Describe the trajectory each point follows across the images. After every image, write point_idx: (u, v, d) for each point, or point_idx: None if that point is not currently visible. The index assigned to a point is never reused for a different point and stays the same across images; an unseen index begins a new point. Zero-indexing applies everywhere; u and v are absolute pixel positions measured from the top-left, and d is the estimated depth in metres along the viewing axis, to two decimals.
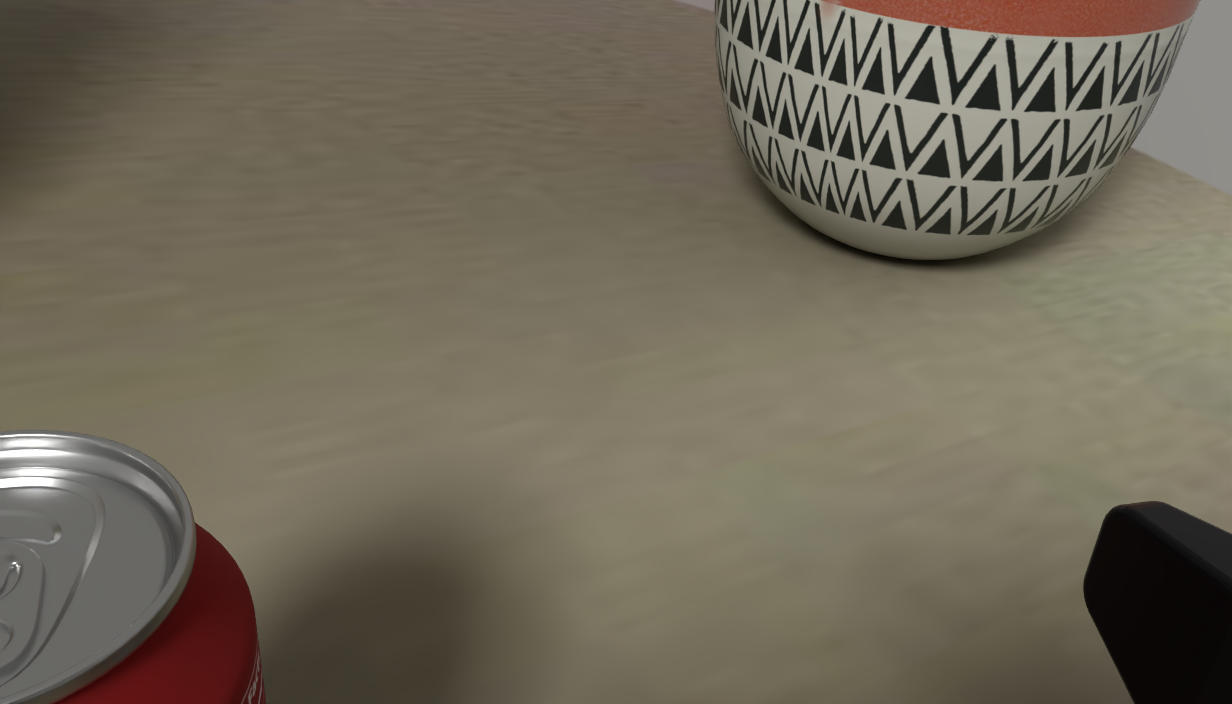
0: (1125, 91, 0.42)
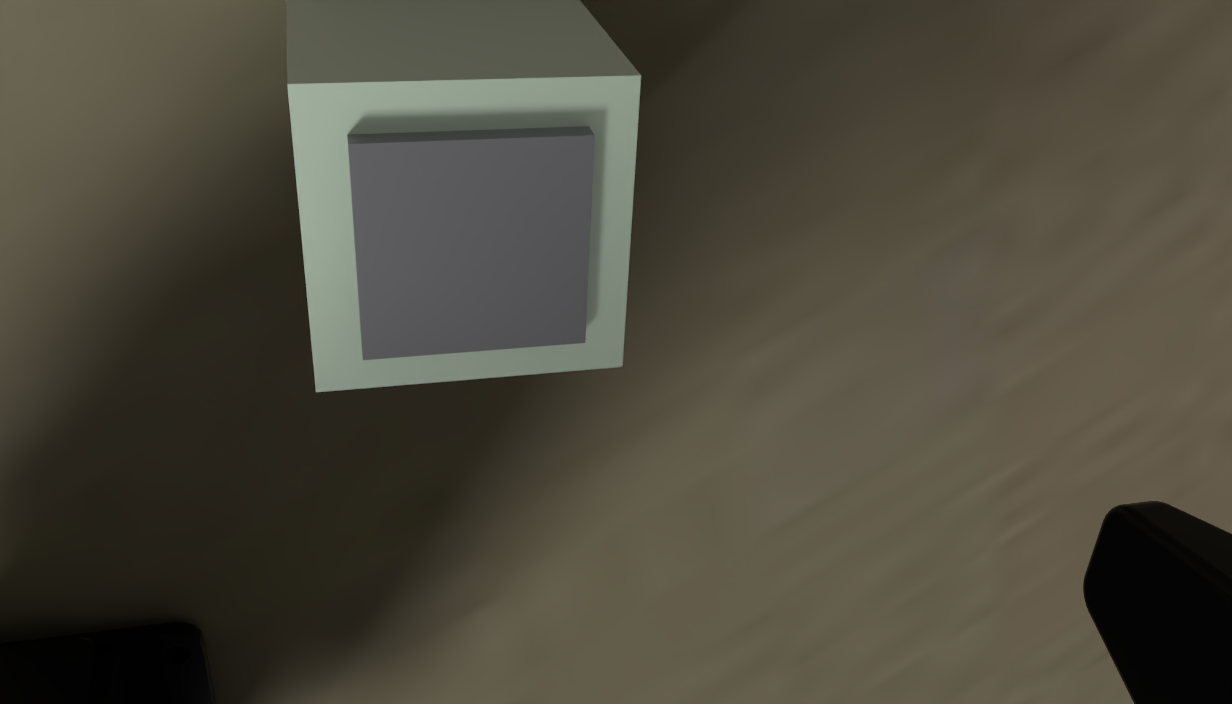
0: None
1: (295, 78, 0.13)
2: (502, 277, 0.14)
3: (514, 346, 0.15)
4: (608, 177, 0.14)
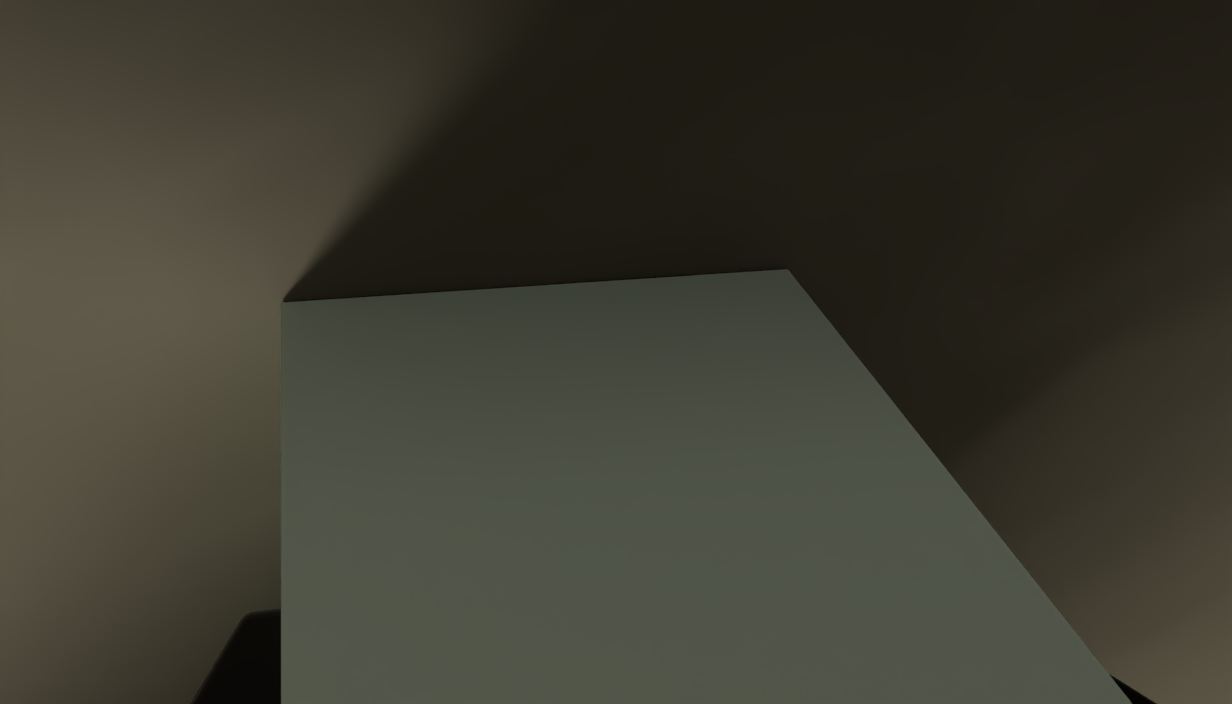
0: None
1: None
2: None
3: None
4: None
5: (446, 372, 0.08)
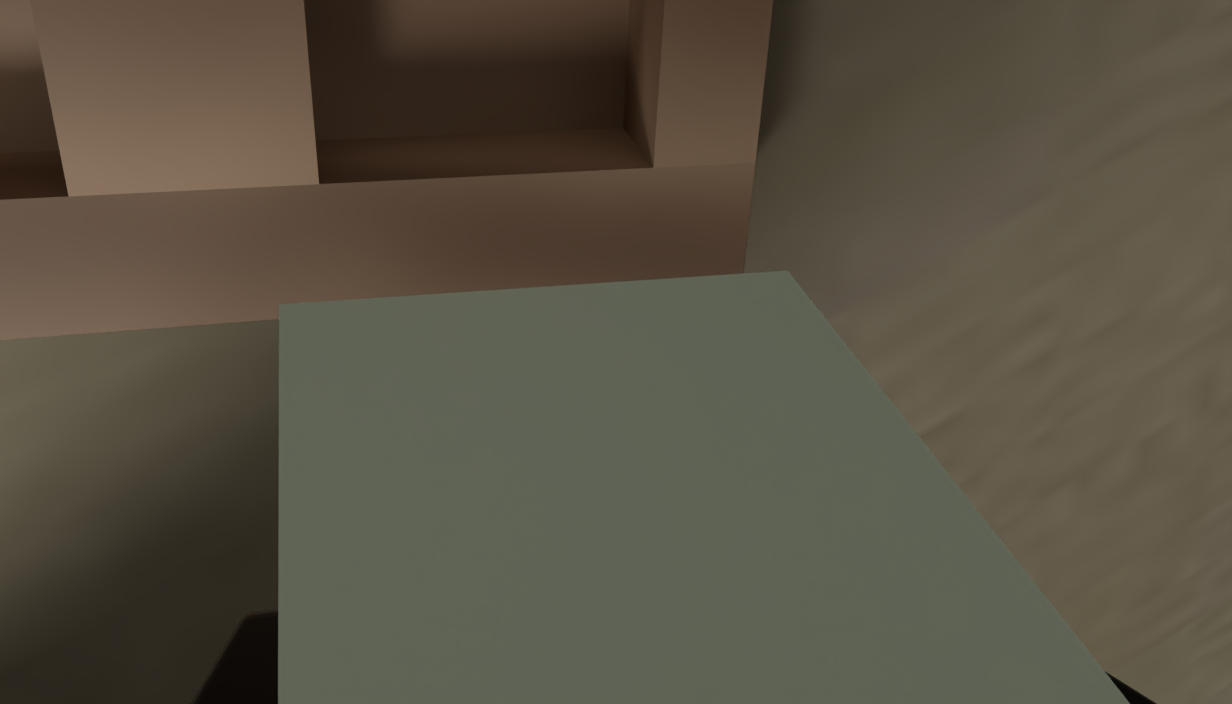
0: None
1: None
2: None
3: None
4: None
5: (445, 374, 0.08)
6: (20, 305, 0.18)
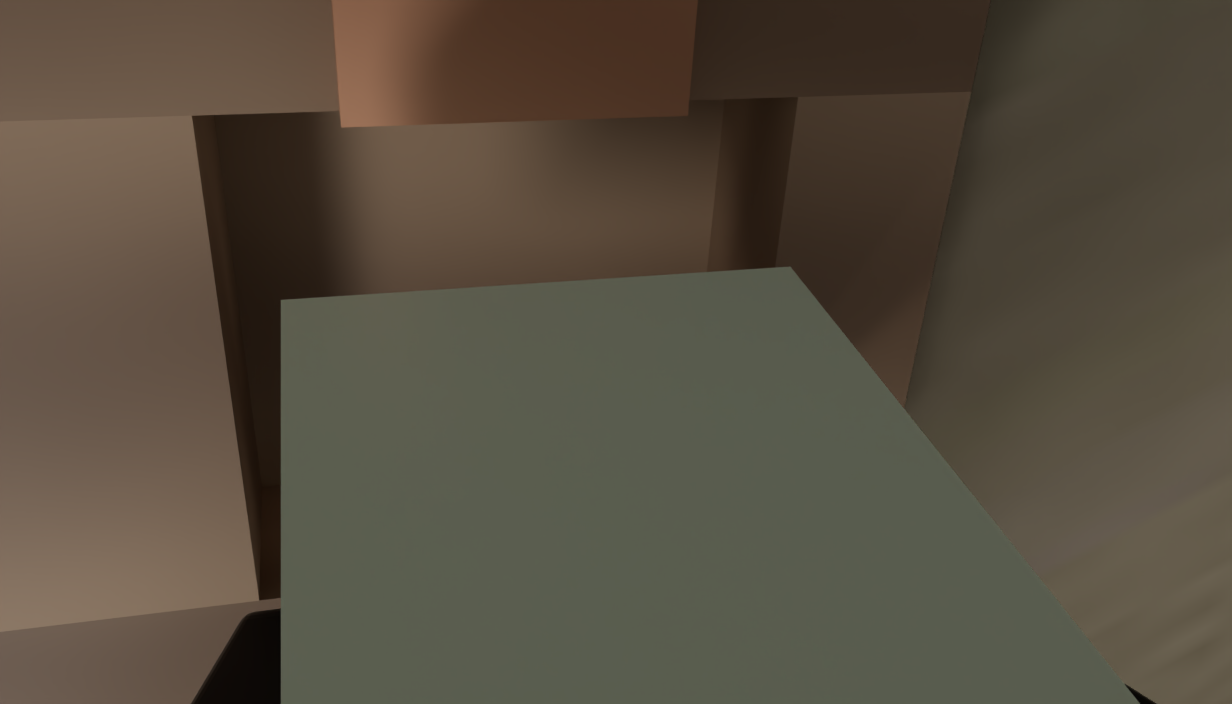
0: None
1: None
2: None
3: None
4: None
5: (447, 370, 0.08)
6: None
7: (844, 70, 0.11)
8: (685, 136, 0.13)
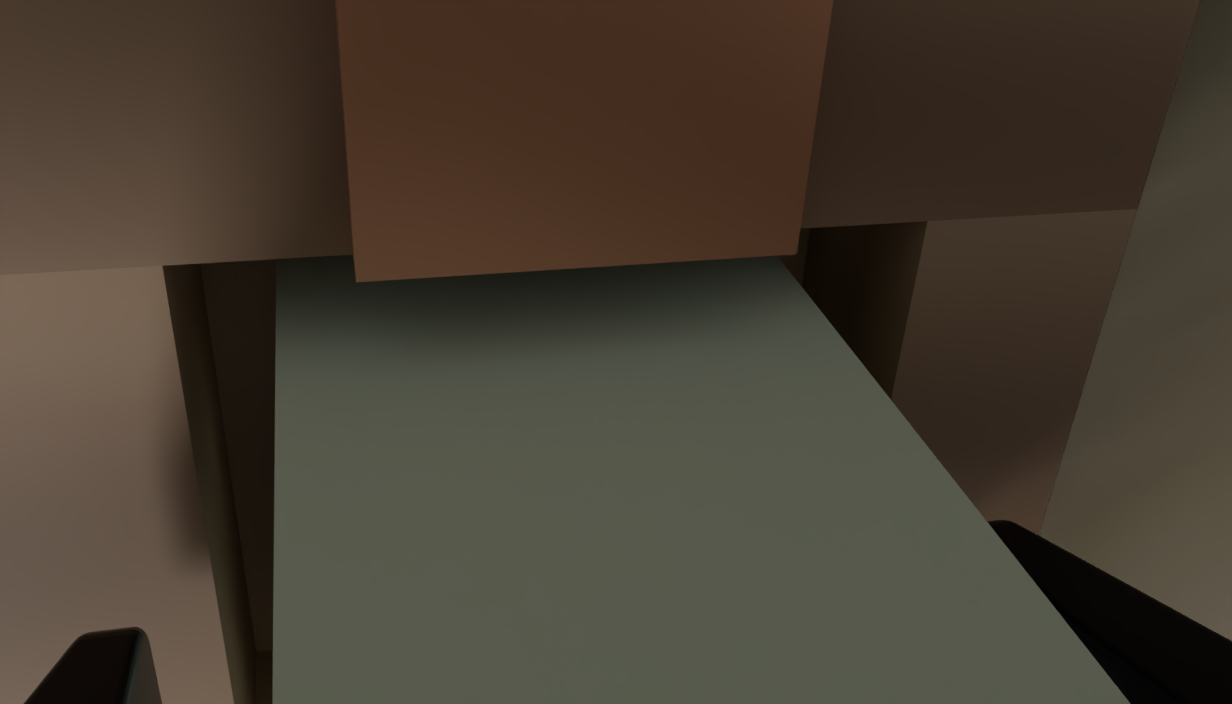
0: None
1: None
2: None
3: None
4: None
5: (422, 285, 0.09)
6: None
7: (986, 188, 0.09)
8: None
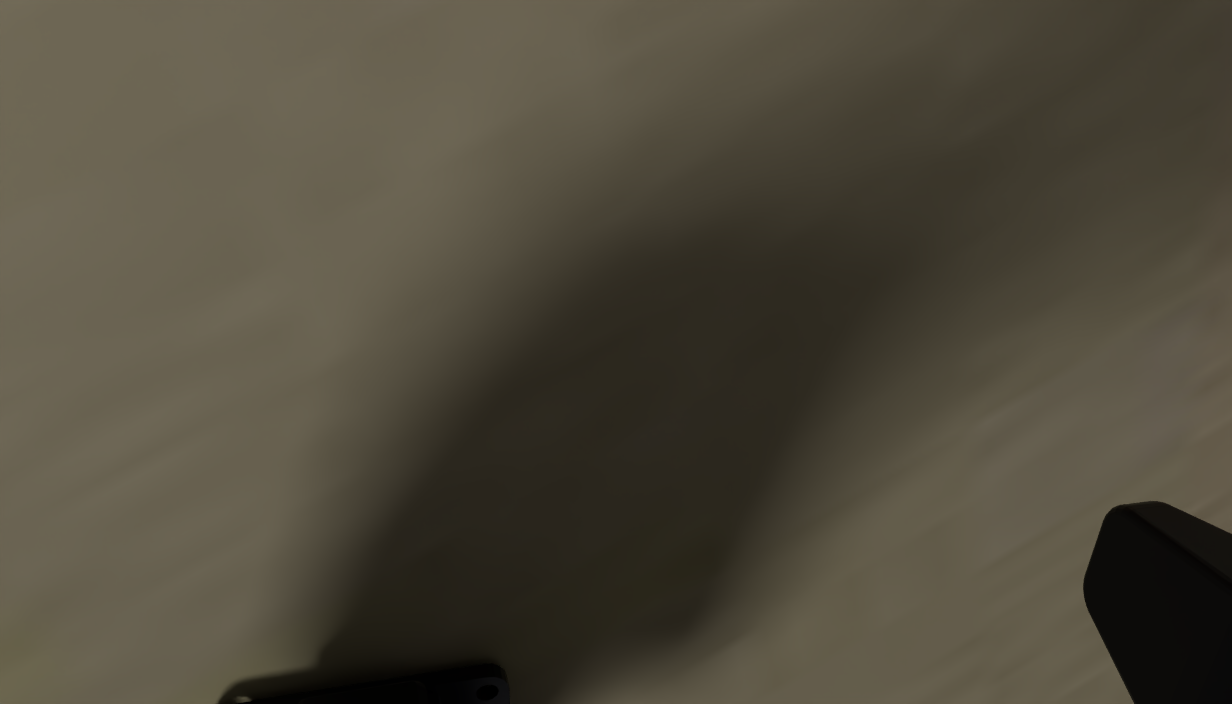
0: None
1: None
2: None
3: None
4: None
5: None
6: None
7: None
8: None
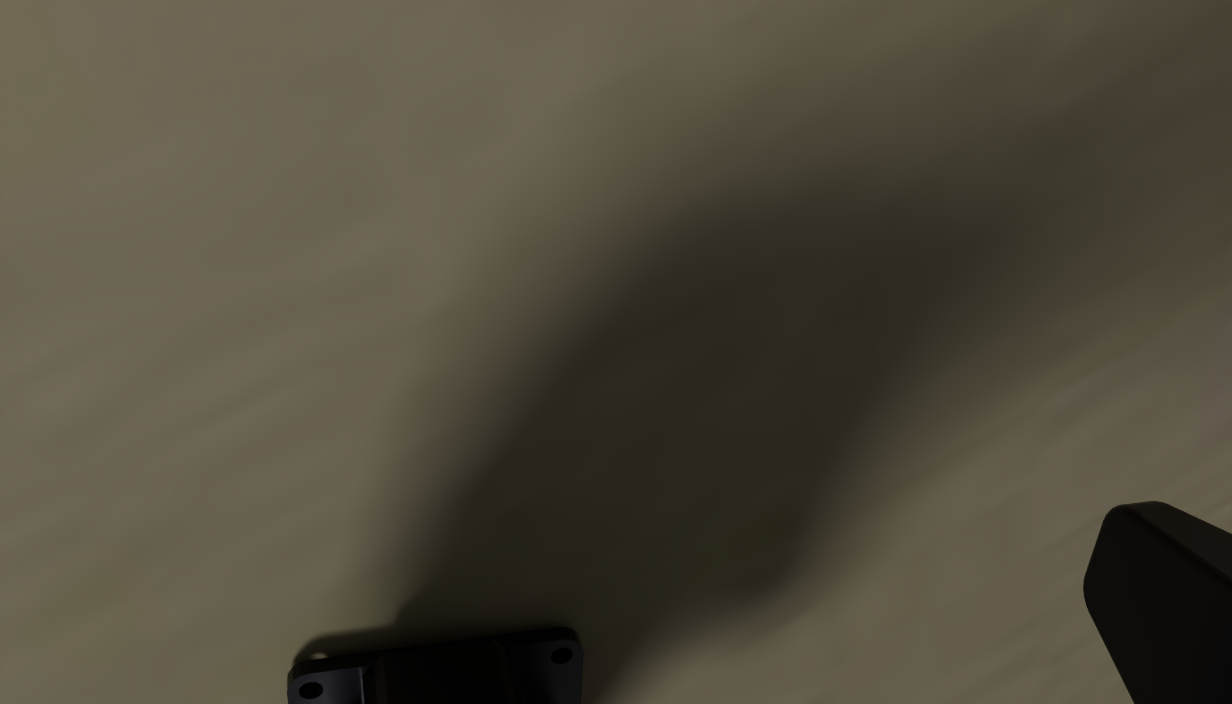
0: None
1: None
2: None
3: None
4: None
5: None
6: None
7: None
8: None
